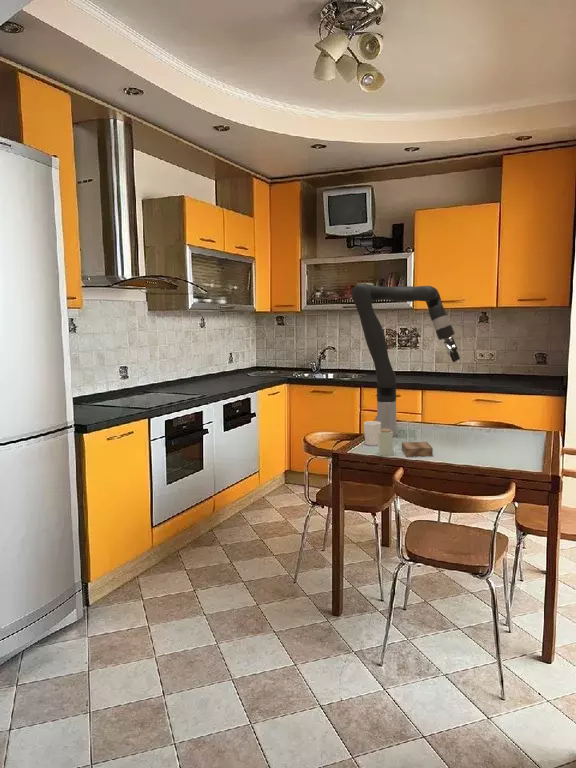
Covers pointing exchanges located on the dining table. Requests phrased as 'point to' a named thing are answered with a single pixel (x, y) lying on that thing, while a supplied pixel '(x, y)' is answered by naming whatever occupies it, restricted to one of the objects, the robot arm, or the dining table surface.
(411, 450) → the walnut block
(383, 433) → the canister
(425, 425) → the dining table surface
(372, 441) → the white cup
